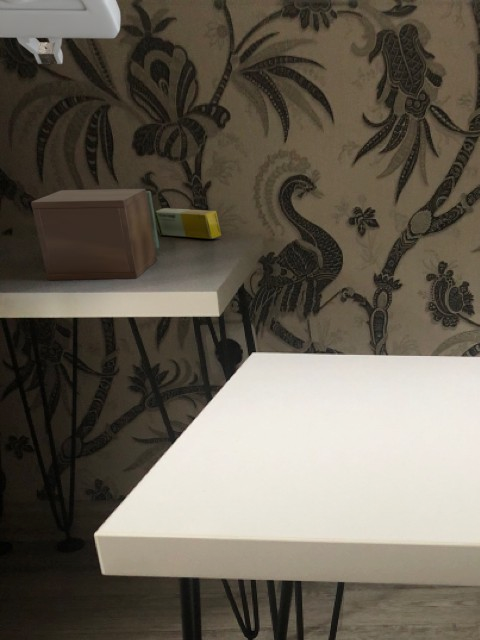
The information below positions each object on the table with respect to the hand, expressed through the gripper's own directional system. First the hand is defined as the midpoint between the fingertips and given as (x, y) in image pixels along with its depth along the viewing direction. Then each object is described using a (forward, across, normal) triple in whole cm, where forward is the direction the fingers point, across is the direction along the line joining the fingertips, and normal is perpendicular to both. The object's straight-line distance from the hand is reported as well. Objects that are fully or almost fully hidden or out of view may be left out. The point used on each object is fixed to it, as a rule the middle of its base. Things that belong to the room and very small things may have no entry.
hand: (50, 60), depth 115 cm
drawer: (+23, -2, +11) cm, 26 cm away
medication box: (+37, -10, -2) cm, 38 cm away
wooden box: (+18, -2, +18) cm, 25 cm away
